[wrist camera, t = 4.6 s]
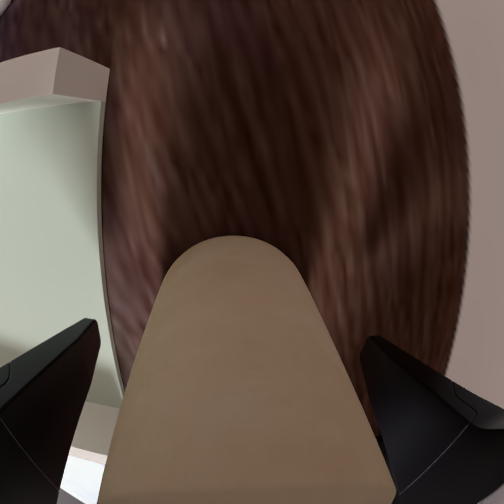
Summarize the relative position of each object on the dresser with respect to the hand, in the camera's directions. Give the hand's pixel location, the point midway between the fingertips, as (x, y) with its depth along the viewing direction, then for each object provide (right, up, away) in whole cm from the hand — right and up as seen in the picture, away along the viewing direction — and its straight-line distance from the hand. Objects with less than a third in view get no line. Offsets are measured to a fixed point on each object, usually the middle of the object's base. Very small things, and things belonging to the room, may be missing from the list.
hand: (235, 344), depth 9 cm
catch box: (-12, +2, +1) cm, 12 cm away
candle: (0, +1, +3) cm, 3 cm away
